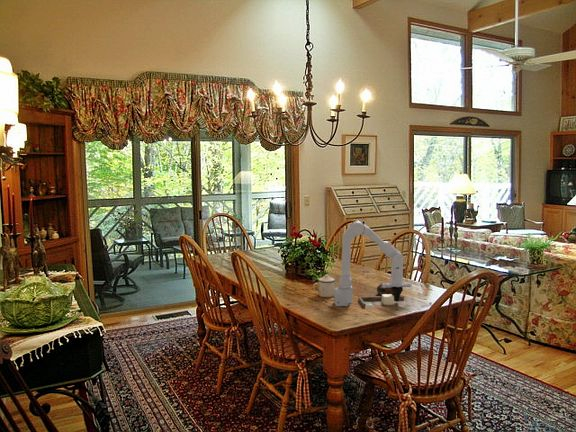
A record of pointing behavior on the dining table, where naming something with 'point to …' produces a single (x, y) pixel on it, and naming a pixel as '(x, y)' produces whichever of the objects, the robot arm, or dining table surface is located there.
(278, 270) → the dining table surface
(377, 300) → the trap box
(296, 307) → the dining table surface
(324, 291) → the teacup with lid
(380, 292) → the decorative turtle
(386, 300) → the cream block
